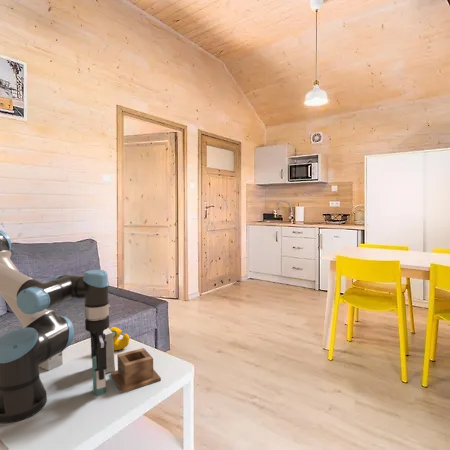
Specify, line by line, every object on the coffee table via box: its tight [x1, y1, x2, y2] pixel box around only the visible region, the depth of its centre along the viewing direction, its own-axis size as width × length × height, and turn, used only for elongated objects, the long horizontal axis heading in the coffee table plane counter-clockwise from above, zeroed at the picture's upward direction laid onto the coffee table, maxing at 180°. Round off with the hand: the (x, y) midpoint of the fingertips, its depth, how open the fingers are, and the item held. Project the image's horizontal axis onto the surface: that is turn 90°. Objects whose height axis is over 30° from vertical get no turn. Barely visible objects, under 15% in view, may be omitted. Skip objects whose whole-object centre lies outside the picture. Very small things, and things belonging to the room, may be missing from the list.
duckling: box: [109, 326, 130, 352], centre depth 142 cm, size 11×5×10 cm, turn 105°
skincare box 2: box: [103, 327, 116, 374], centre depth 126 cm, size 8×6×15 cm
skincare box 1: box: [39, 351, 63, 372], centre depth 128 cm, size 6×6×7 cm
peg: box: [91, 356, 107, 396], centre depth 110 cm, size 4×4×12 cm
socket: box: [110, 347, 162, 394], centre depth 119 cm, size 14×14×8 cm
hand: (99, 384), depth 111 cm, fingers open, 4 cm apart
